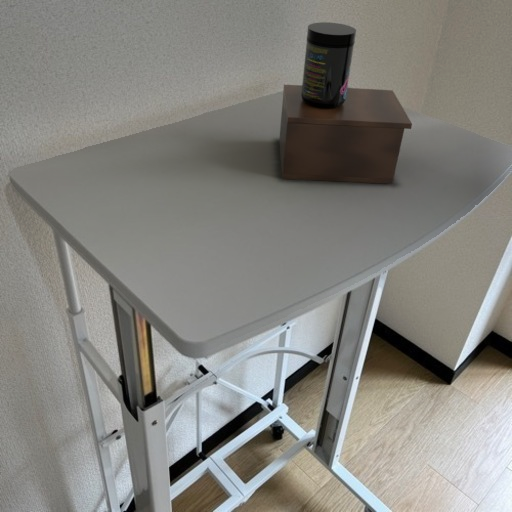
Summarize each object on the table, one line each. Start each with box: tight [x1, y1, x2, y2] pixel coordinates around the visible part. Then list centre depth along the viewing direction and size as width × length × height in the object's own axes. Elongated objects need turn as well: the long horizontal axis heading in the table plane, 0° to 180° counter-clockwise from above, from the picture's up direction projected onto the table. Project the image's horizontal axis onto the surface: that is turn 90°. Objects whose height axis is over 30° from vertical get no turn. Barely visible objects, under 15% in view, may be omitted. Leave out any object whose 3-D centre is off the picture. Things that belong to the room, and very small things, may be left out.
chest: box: [278, 89, 405, 185], centre depth 85 cm, size 17×14×9 cm
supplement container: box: [301, 21, 357, 109], centre depth 79 cm, size 7×7×10 cm
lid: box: [283, 84, 413, 130], centre depth 83 cm, size 18×14×1 cm
